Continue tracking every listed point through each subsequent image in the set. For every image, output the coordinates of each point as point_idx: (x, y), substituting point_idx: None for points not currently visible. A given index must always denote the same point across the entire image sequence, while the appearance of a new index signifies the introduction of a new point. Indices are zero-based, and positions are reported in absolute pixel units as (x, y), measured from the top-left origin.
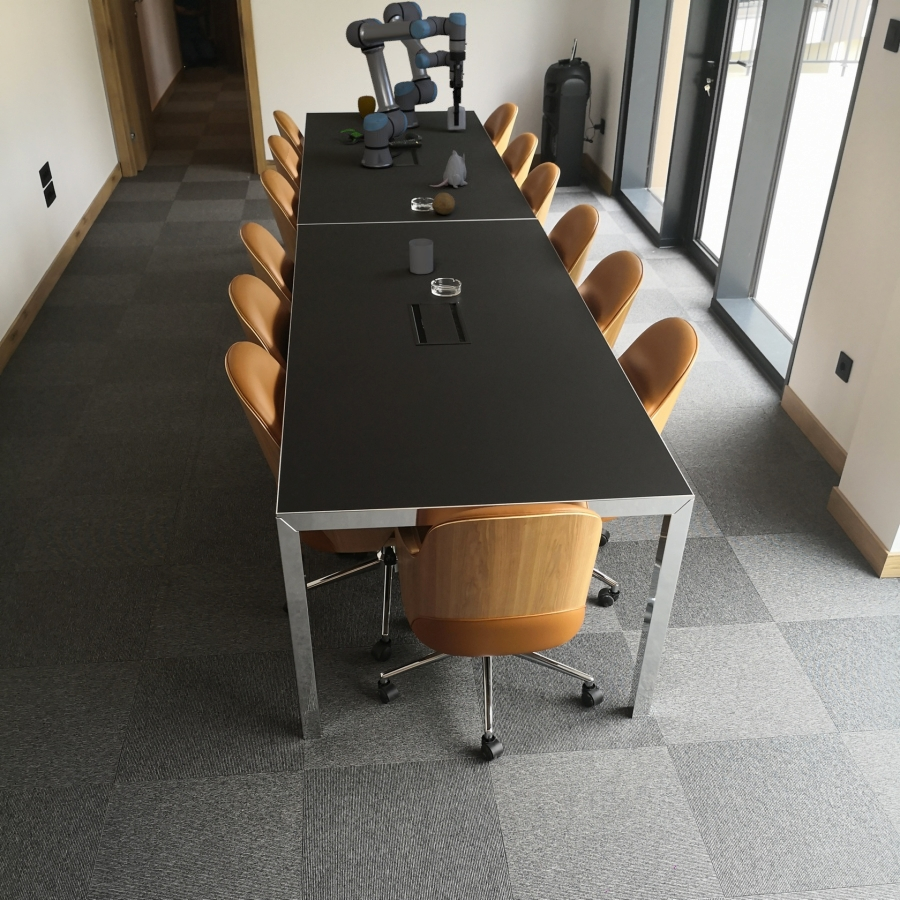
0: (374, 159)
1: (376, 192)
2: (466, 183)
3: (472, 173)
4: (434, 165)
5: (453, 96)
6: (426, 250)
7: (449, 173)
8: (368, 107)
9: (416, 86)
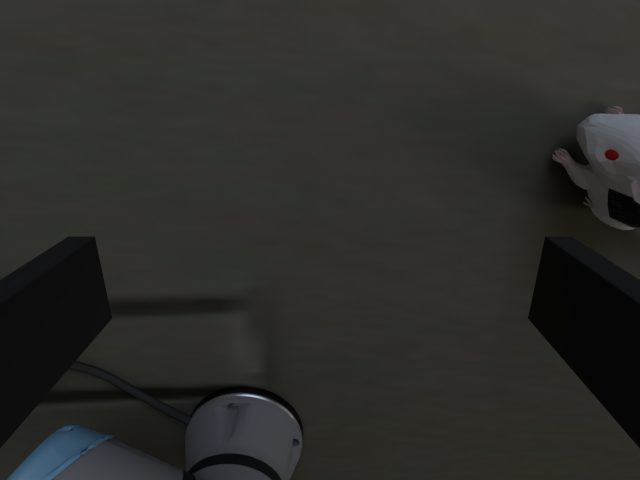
0: (294, 466)
1: (594, 430)
2: (620, 111)
3: (402, 60)
4: (248, 234)
5: (102, 328)
6: None
7: None
8: None
9: None
